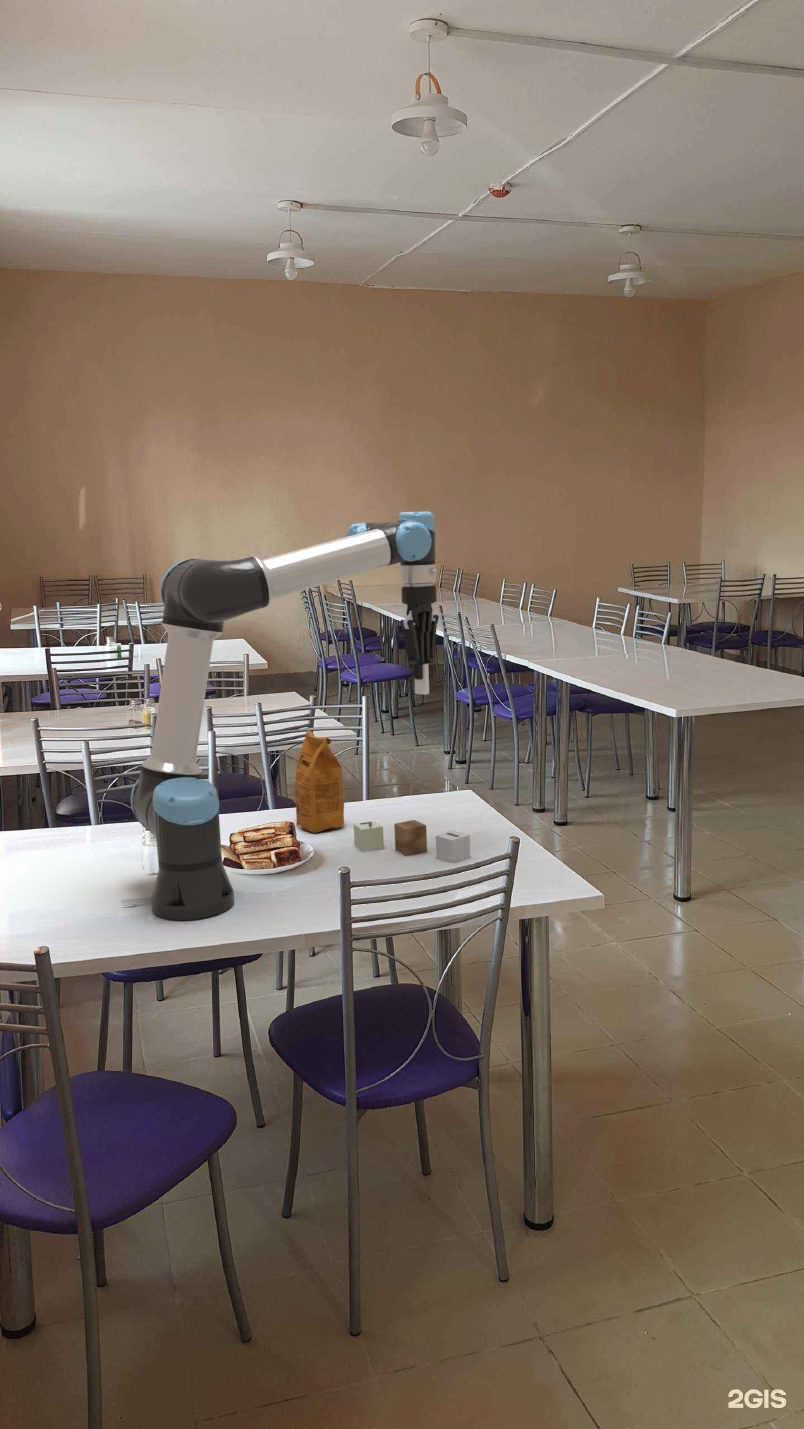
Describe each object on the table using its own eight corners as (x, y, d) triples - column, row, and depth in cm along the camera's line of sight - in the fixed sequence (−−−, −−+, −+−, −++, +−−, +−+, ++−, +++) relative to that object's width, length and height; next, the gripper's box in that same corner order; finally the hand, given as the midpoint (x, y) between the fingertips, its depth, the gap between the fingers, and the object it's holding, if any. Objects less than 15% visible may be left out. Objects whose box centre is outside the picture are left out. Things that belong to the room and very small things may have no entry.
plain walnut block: (406, 856, 224) (405, 829, 223) (395, 850, 228) (394, 823, 227) (427, 852, 226) (426, 825, 225) (415, 846, 230) (414, 819, 229)
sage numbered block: (361, 852, 228) (360, 829, 227) (354, 845, 232) (353, 823, 231) (383, 848, 230) (382, 825, 229) (376, 842, 234) (375, 820, 233)
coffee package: (329, 816, 256) (325, 727, 252) (349, 829, 245) (345, 735, 241) (290, 822, 252) (285, 731, 248) (309, 836, 240) (304, 741, 236)
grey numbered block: (452, 863, 218) (451, 839, 217) (436, 858, 222) (435, 834, 221) (470, 858, 221) (469, 834, 220) (454, 852, 225) (453, 829, 224)
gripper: (418, 587, 219) (422, 699, 223) (448, 582, 230) (451, 689, 234) (387, 587, 223) (391, 697, 227) (418, 582, 234) (421, 688, 238)
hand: (422, 693), depth 231 cm, fingers closed
